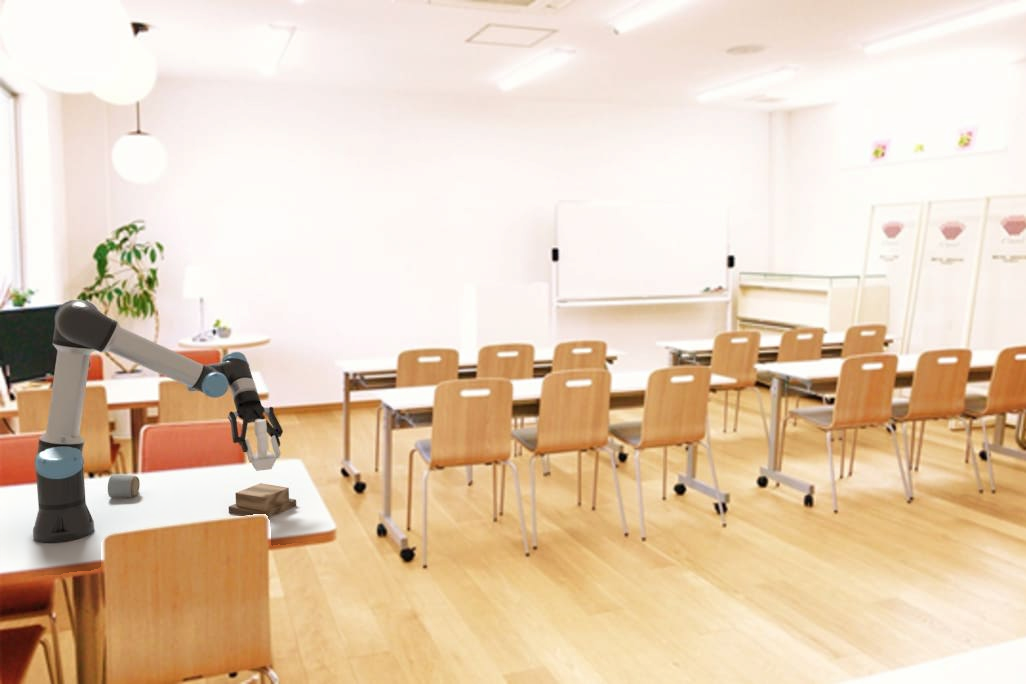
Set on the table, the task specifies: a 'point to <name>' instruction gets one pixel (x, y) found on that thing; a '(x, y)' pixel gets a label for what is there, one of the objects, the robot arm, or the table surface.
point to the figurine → (262, 448)
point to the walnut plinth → (268, 512)
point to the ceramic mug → (123, 486)
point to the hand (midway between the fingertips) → (265, 457)
